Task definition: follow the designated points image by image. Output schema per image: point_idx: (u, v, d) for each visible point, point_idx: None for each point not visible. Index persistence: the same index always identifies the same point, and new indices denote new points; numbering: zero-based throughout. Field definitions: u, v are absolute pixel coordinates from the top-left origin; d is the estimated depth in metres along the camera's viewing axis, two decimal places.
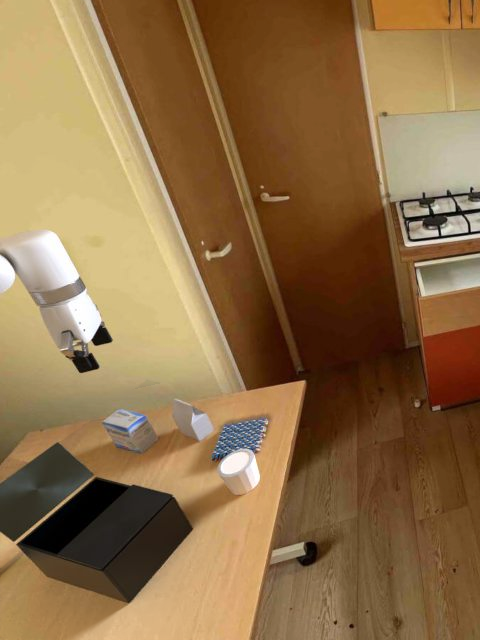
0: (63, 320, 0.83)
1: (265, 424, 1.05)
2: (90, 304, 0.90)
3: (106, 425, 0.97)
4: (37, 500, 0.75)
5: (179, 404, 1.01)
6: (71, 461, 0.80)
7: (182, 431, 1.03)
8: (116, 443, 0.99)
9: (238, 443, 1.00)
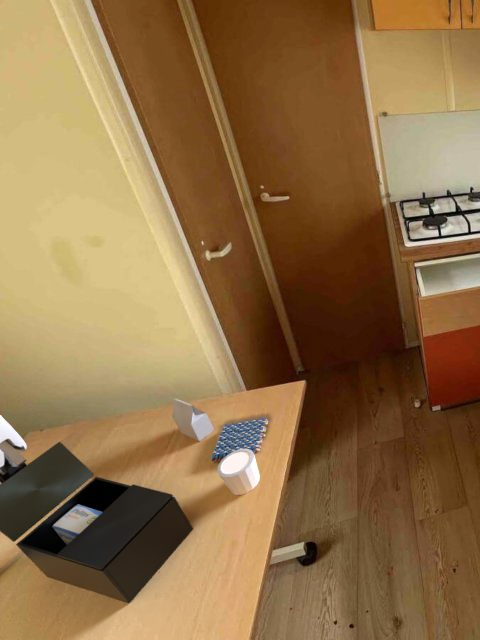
0: None
1: (265, 424, 1.05)
2: None
3: (58, 529, 0.76)
4: (38, 500, 0.75)
5: (179, 404, 1.01)
6: (72, 461, 0.80)
7: (182, 431, 1.03)
8: None
9: (238, 443, 1.00)
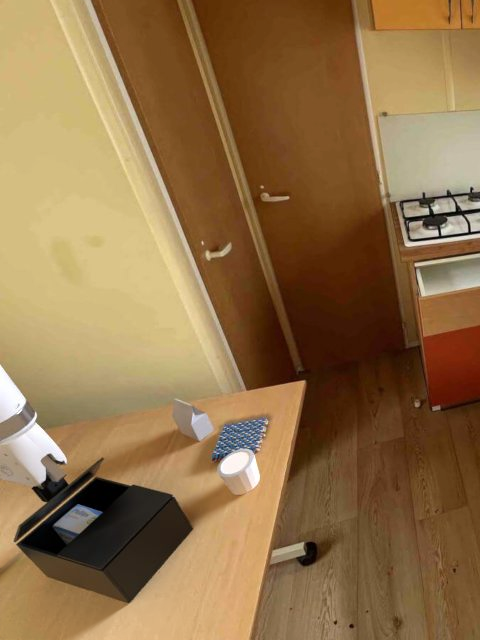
0: (40, 444, 0.68)
1: (265, 424, 1.05)
2: None
3: (58, 529, 0.76)
4: (53, 506, 0.75)
5: (179, 404, 1.01)
6: (95, 470, 0.79)
7: (182, 431, 1.03)
8: None
9: (238, 443, 1.00)
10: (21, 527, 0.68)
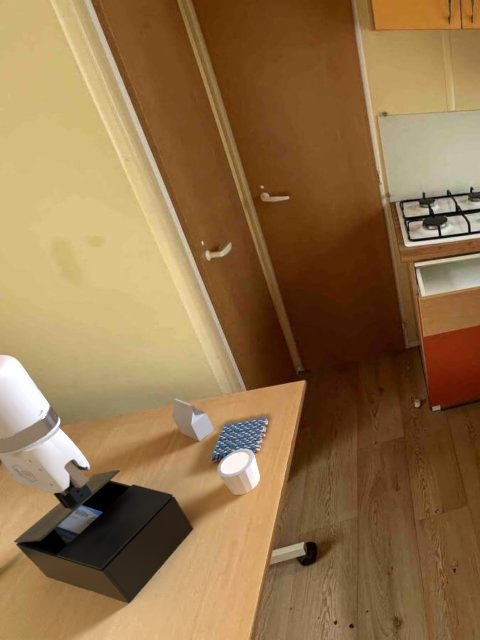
0: (64, 450, 0.67)
1: (265, 424, 1.05)
2: None
3: (58, 529, 0.76)
4: None
5: (179, 404, 1.01)
6: None
7: (182, 431, 1.03)
8: None
9: (238, 443, 1.00)
10: None
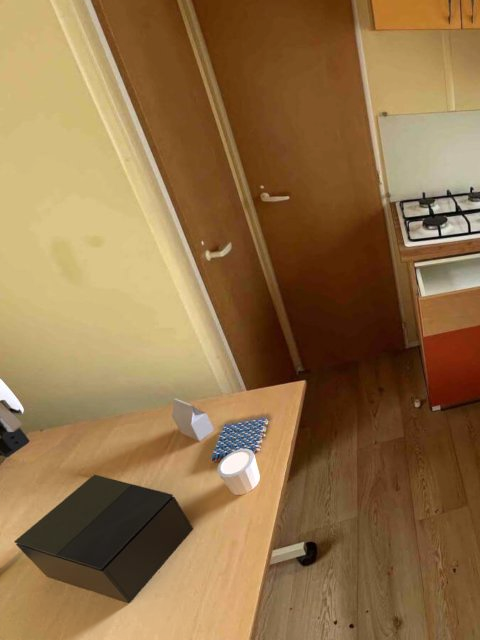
0: None
1: (265, 424, 1.05)
2: None
3: None
4: None
5: (179, 404, 1.01)
6: None
7: (182, 431, 1.03)
8: None
9: (238, 443, 1.00)
10: None
